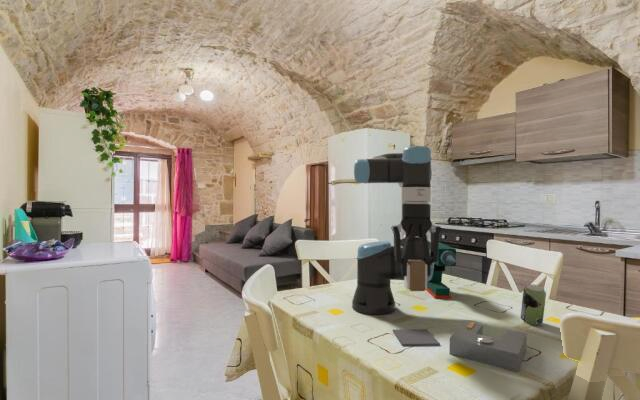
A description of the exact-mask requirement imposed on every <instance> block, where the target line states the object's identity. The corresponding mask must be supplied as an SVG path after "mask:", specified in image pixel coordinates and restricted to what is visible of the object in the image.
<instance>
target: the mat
mask: <svg viewBox="0 0 640 400" xmlns="http://www.w3.org/2000/svg"><path fill="white" fill-rule="evenodd" d="M392 333H393V334H394V336H395V338H396V339H397V341H398V342H399V343H400V345H401V347H422V346H425V347H426V346H428V347H429V346H431V347H432V346H433V347H435V346H440V345H441V344H440V341H438V340H437V339H436V337H434V335H432V333H431V332H430V331H429V330H428V329H427V328H426V329H425V328H422V329H421V328H415V329H414V328H413V329H412V328H411V329H407V328H406V329H392Z"/></svg>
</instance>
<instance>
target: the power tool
mask: <svg viewBox="0 0 640 400" xmlns="http://www.w3.org/2000/svg"><path fill="white" fill-rule="evenodd" d="M430 243H431V241H430ZM456 265H457V250H456V248H455V247H452V246H449V245H447V244H444V243H442V242H440V241H439V242H438V261H437V262H434V270H433V276H432V279H431V280H430V281H427V289H425V291H426V292H427V293H428V294H430V296H432V297H433V299H434V300H437V299H439V300H443V299H444V300H449V299H450V300H451V299H453V298H452V297H453V296H452V295H451V289H450V287H448V286H447V285H445V283H443V282H442V281H443V279H442V278H443V272H446V267H457V266H456Z"/></svg>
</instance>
